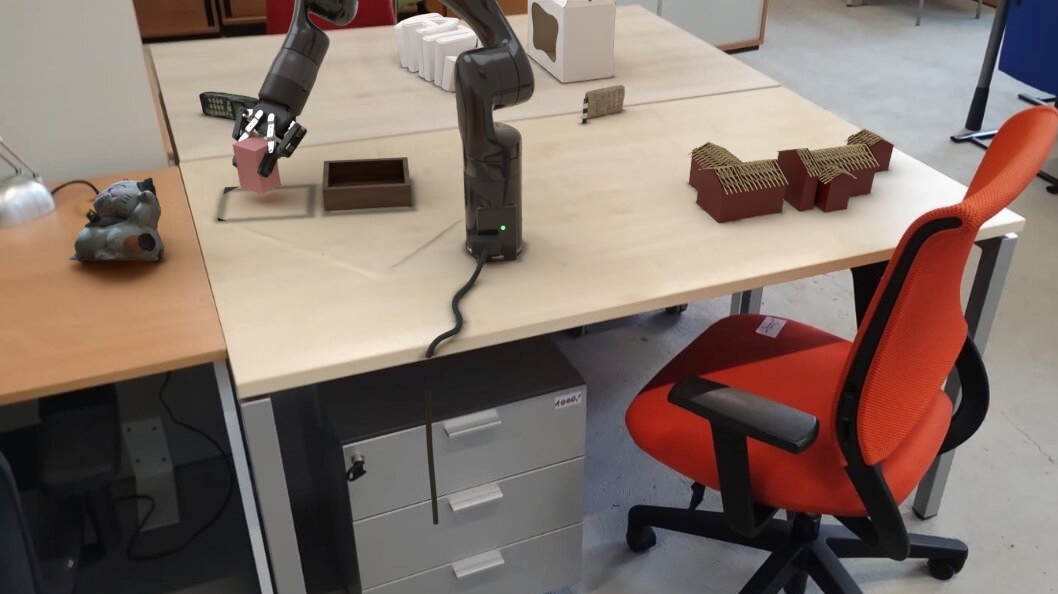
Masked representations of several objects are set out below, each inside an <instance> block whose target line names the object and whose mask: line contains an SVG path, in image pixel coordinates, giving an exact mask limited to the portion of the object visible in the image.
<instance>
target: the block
mask: <svg viewBox="0 0 1058 594" xmlns="http://www.w3.org/2000/svg"><path fill="white" fill-rule="evenodd" d="M232 148H233V154H234V155H235V160H236V165H237V168H236V169H237V176H238V180H239V186H240V188H242V189H245V190H248V191H251V192H253V193H257V194H260V195H264V194H266V193H269V192H270V191H273V190H274V189H276V188H278V187H279V186H281V185H282V182H281V176H280V169H279V162H278V161H277V162H276V165H275V167H274V169H273V171H272V173H271V174H270V175H269V176H268V178H265V177H263V176H261V175H259V174H258V173H257V170H258V168H259V166H260V164H261V161H262V159H263V157H264V155H265V153H267V154H268V152H267V148H268V140H267V138H263V139H262V138H259V137H256V136H253V137H250V138H245V139H243V140H241V141H239V142H237V141H236V142H234V143H232ZM234 155H233V156H234Z"/></svg>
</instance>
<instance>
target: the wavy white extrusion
mask: <svg viewBox="0 0 1058 594" xmlns="http://www.w3.org/2000/svg"><path fill="white" fill-rule="evenodd" d="M393 31H394V36H395V41H396V45H397V50H398V54H399V59H400V62H401V67H402V68H408V71H409V72H411V73H416V72H418V76H419V77H421V78H422V79H424V80H425V81H427V82H432V81H434V85H435V86H437V87H441V89H443V90H444V91H447V92H453V93H455V86H454V66H455V62H456V59H457V57H458V55H459V54H460V53H461V52H463V51H466V50H470V49H475V48H480V47H483V45H482V43H481V42H480V40H479V38H478V37H477V35H476V34H475V32H474V31H473V30H472V29H471V28H470V27H467V26H465V25H463V24H460V19H459V17H458V18H456V17H447V16H445V17H444V16H443V15H442V14H440V13H438V12H431V13H424V14H418V15H413V16H411V17H409V18H405V19H403V20H401V21H400V22H398V23H397V24H396V25H394V27H393Z"/></svg>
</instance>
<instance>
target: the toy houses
mask: <svg viewBox="0 0 1058 594" xmlns="http://www.w3.org/2000/svg"><path fill="white" fill-rule="evenodd" d="M843 142H844V143H846V145H840V146H834V147H833V146H832V147H825V148H818V149H814V150H810V149H809V148H808V147H805V148H804V147H803V148H802V147H801V148H791V149H783V150H776V153H777V158H773V159H772V158H771V159H758V160H750V161H744V162H743V161H742V160H741V159H740V158H738V157H737V156H736V155H735V154H733V153H732V152H731V151H730V150H728V149H727V148H726V147H724V146H720V145H717V144H715V143H713V142H710V141H707V142H706V143H704V144H702V145H700V146H699V147H695V148H693V149H692V151H691V152H689V153H688V154H687V156H689V157H690V158H691V160H690V167H689V168H690V169H689V176H688V177H689V179H688V184H689V185H690V186H692V187H693V188H694V189H695V190H696V191H697V192H696V204H697V205H698V206H699V207H700V208H701V209H702V210H703V211H705V212H706V214H708V215H709V216H710V217H711V218H712V219H714V221H716V222H717V223H718V224H720V223H721V224H722V223H727V222H732V221H738V220H744V219H749V218H755V217H761V216H766V215H767V216H768V215H773V214H778V213H779V214H780V213H782V211H783V205H784V201H785V202H787V203H788V204H789V205H790V206H792V207H793V208H794V209H795V210H796V211H798V212H803V211H804V212H805V211H811V210H813V208H814V206H815V207H817V208H818V209H820V210H821V211H822V212H823V213H831V212H836V211H841V210H847V209H848V205H849V200H850V197H855V196H861V195H862V196H863V195H866V194H871V192H872V189H873V183H874V178H875V174H876V173H879V172H880V173H881V172H885V171H889V168H890V163H891V159H892V155H893V151H894V147H895V148H897V145H895V144H894V143H892V142H891V141H889V140H887V139H885V138H884V137H882V136H881V135H879V134H877V133H875V132H872V131H871V130H868V129H866V128H863V129H861V130H860V131H858V132H856V133H853V134H851V135H849V136H848V138H847V139H845V140H844V141H843Z"/></svg>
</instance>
